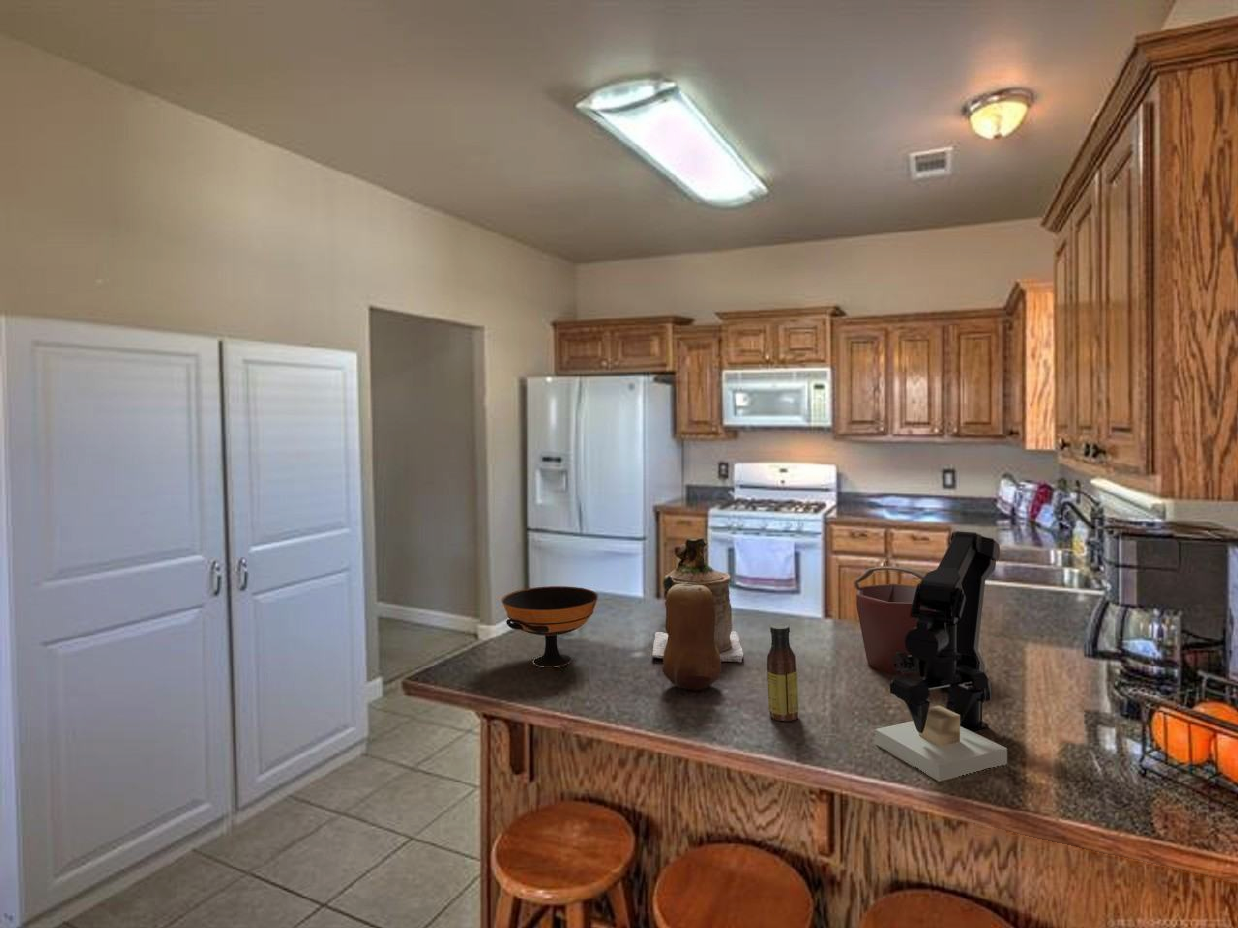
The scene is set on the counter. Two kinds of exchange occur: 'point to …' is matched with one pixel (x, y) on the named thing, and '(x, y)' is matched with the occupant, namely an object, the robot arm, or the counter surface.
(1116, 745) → the counter surface
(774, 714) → the sauce bottle
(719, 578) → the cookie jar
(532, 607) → the cup
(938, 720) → the pine cube
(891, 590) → the bucket
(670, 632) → the butternut squash
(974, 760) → the plinth
